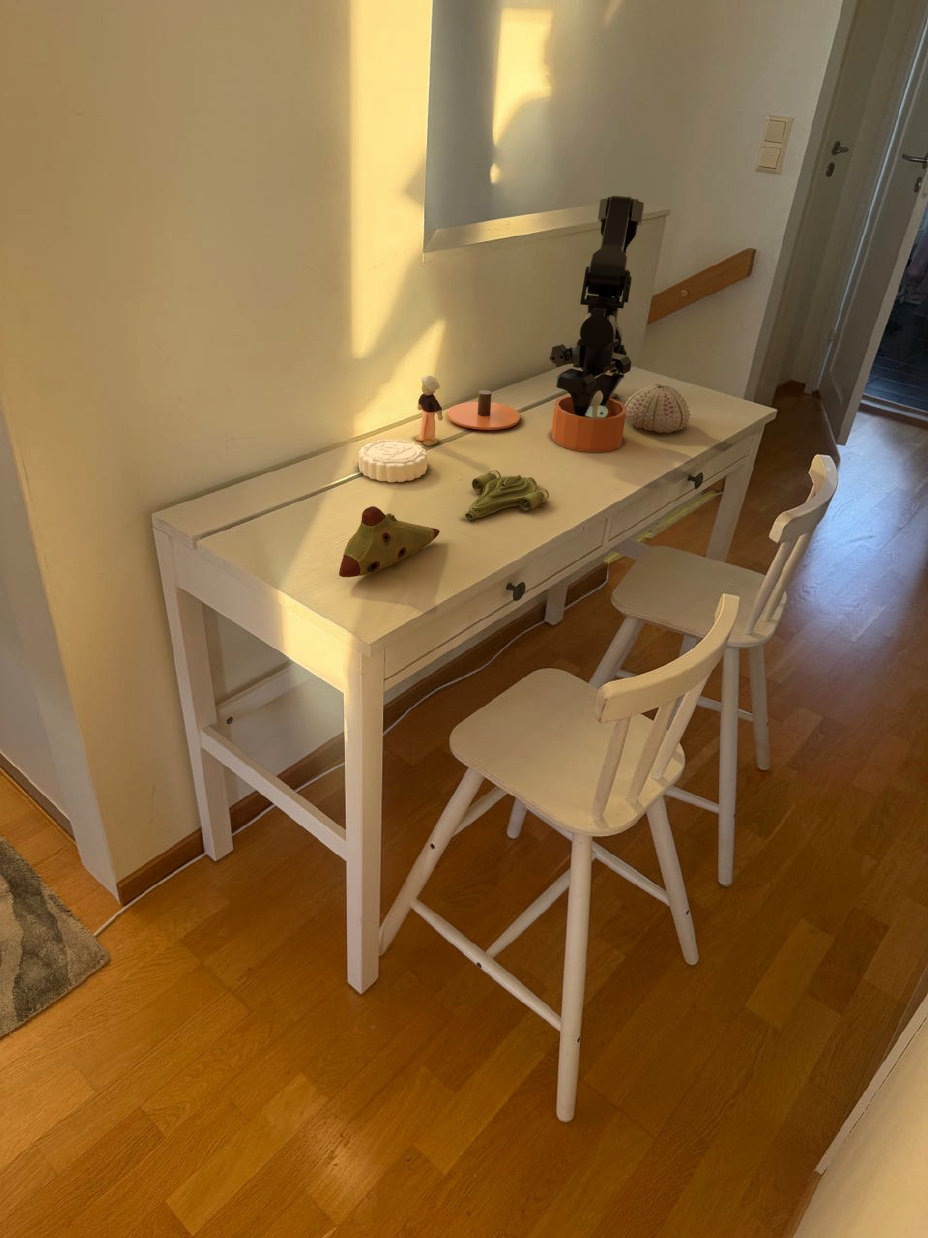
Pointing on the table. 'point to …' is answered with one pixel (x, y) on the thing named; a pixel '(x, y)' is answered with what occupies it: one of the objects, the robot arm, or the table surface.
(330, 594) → the table surface
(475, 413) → the lid
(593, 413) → the pacifier
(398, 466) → the mooncake
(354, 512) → the table surface
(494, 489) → the spaceship toy
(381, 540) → the ocarina
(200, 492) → the table surface
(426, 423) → the grandmother figurine
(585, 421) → the pot
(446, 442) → the table surface
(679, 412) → the sea urchin shell
